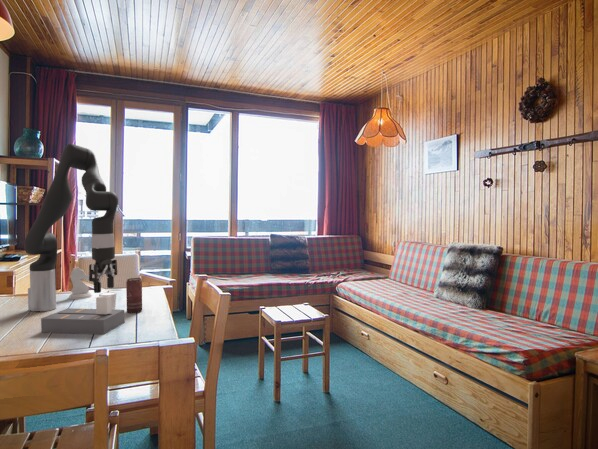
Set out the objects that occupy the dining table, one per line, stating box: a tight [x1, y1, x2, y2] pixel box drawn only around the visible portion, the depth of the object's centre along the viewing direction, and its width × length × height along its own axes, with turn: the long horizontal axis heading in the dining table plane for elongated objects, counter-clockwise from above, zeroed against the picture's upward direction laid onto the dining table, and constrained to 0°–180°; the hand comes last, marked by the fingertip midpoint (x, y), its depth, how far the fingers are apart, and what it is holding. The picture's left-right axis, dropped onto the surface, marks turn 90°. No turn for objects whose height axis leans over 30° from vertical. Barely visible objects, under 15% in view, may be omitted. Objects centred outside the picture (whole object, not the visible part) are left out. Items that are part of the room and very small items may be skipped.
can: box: [125, 277, 143, 314], centre depth 167 cm, size 6×6×14 cm
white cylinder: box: [98, 291, 117, 310], centre depth 170 cm, size 7×7×7 cm
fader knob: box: [95, 295, 111, 315], centre depth 144 cm, size 4×3×8 cm
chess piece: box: [68, 266, 93, 300], centre depth 194 cm, size 10×10×15 cm
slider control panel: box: [40, 307, 125, 335], centre depth 145 cm, size 23×14×5 cm, turn 86°
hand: (104, 290), depth 144 cm, fingers open, 8 cm apart
